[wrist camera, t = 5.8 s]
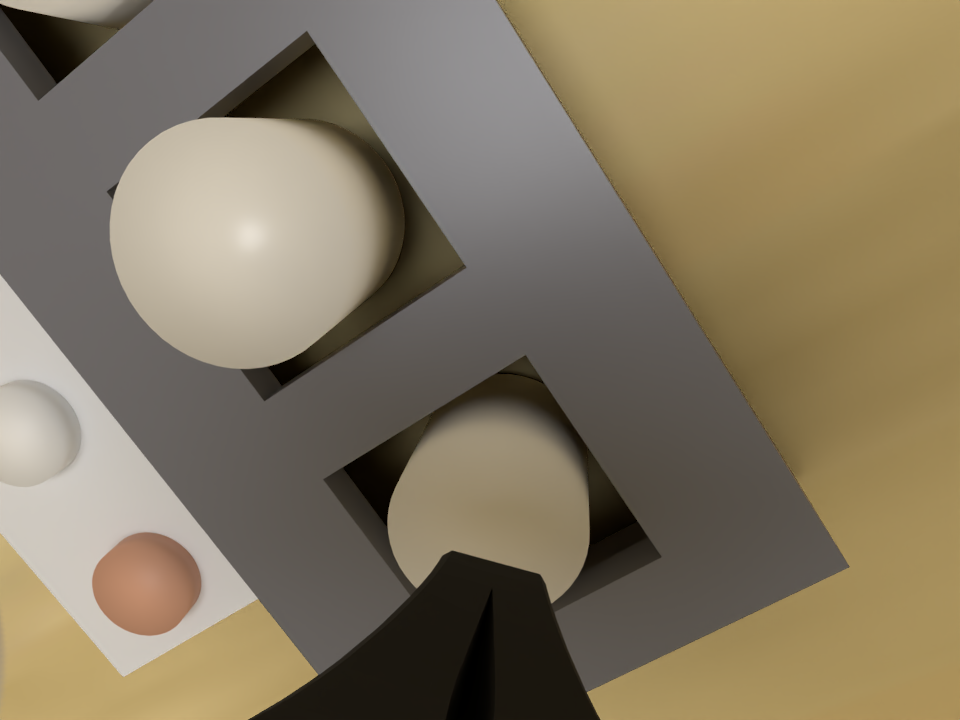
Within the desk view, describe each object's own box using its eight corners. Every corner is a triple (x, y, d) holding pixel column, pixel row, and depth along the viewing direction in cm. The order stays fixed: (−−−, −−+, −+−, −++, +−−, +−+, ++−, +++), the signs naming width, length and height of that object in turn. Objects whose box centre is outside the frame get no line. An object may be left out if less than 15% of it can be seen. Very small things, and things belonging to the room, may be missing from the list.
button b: (442, 248, 16) (401, 285, 13) (293, 348, 17) (214, 411, 14) (326, 77, 16) (246, 62, 12) (179, 192, 17) (61, 212, 13)
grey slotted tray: (796, 480, 19) (849, 566, 16) (432, 667, 22) (401, 779, 18) (216, -450, 16) (99, -636, 12) (-138, -82, 18) (-326, -136, 15)
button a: (619, 477, 19) (628, 564, 16) (483, 552, 20) (461, 650, 17) (528, 343, 19) (515, 399, 15) (392, 426, 20) (348, 499, 16)
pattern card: (294, 567, 22) (273, 600, 20) (138, 659, 23) (107, 696, 22) (-49, 125, 20) (-103, 126, 18) (-199, 259, 21) (-260, 270, 19)
